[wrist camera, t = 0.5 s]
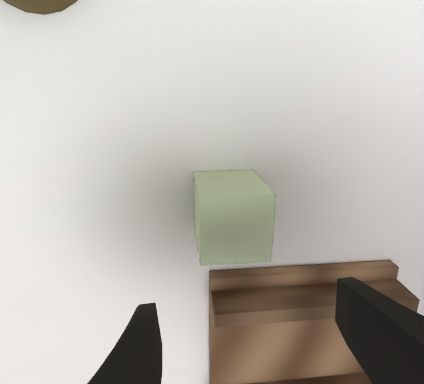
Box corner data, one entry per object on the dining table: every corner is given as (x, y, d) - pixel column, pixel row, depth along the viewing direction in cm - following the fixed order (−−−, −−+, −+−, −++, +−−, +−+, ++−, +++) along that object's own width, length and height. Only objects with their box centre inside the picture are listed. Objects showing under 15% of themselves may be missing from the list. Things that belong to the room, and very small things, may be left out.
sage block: (253, 169, 22) (275, 194, 17) (251, 224, 23) (271, 261, 19) (193, 171, 22) (199, 197, 17) (194, 227, 23) (200, 265, 18)
